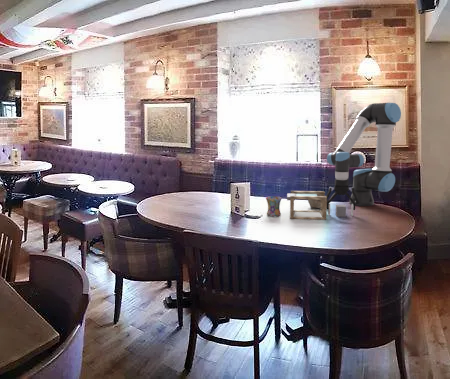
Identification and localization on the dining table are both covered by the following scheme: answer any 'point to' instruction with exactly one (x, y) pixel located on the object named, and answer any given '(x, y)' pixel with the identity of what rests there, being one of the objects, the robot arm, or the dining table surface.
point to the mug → (273, 206)
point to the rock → (315, 202)
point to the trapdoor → (298, 195)
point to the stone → (340, 211)
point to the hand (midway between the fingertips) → (340, 215)
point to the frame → (322, 198)
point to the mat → (307, 214)
